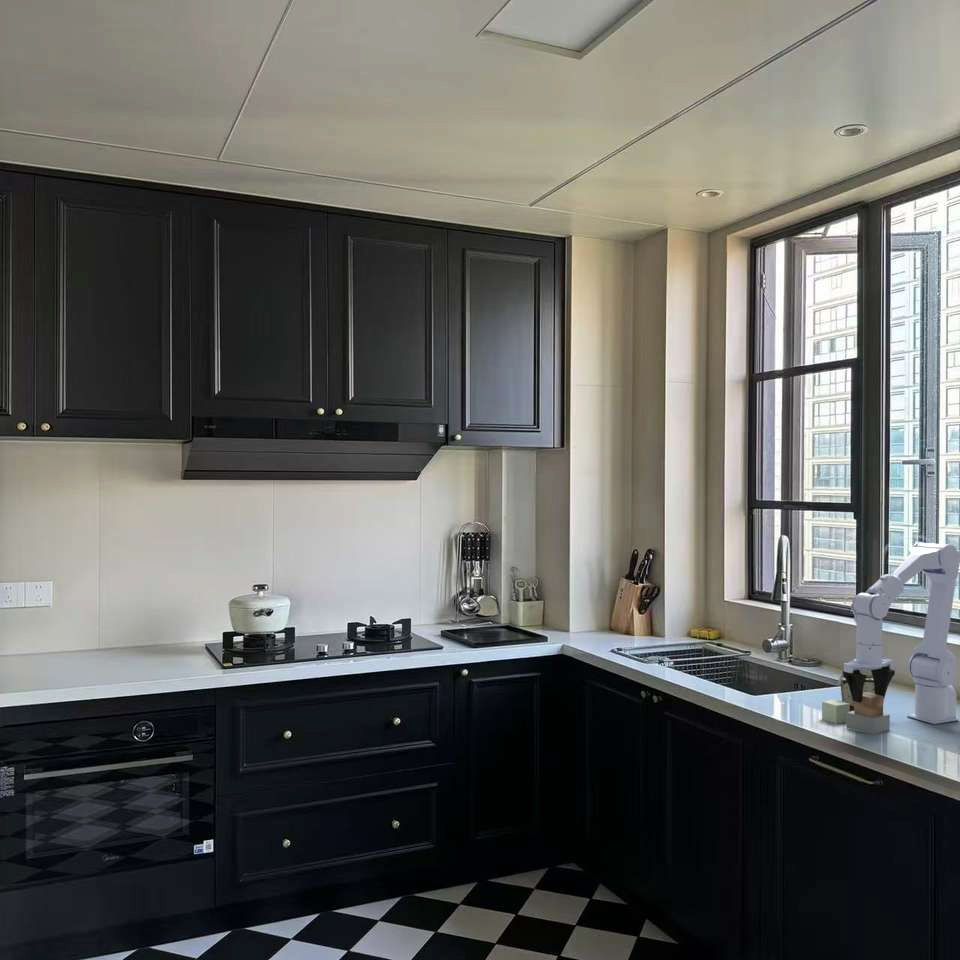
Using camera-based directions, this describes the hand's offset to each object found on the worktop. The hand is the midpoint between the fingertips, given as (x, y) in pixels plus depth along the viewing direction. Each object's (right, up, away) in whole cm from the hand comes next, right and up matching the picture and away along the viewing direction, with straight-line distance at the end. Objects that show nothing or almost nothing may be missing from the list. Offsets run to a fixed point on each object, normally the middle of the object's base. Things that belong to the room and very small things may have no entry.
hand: (868, 700), depth 218 cm
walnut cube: (0, -3, 0) cm, 3 cm away
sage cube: (-5, -7, +8) cm, 11 cm away
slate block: (0, -7, 0) cm, 7 cm away
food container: (+3, -7, +14) cm, 16 cm away
